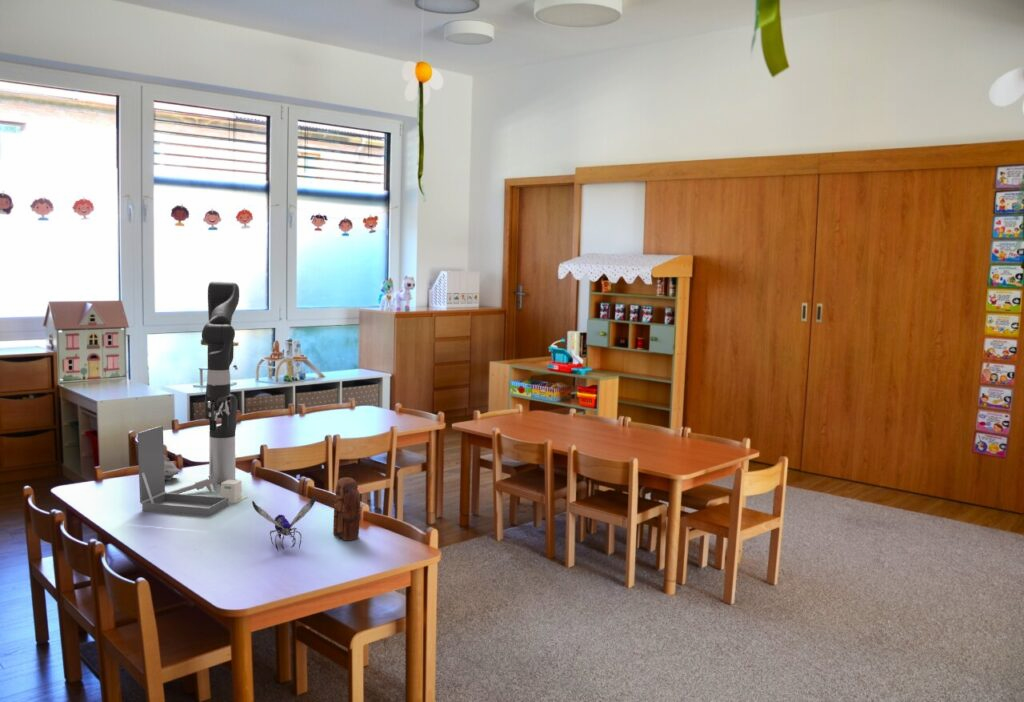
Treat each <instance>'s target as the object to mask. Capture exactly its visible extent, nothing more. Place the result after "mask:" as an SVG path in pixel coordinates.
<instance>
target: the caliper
mask: <svg viewBox="0 0 1024 702" xmlns="http://www.w3.org/2000/svg"><path fill="white" fill-rule="evenodd" d="M211 485H212V486H213V490H214V492H216V491H217V490H218V487H217V486H218V483H217V482H216V479H215V477H213V475H211V477H210V476H209V475H208V478H205V479H203V480H200V481H196V482H194V483H193V484H191V485H187V486H184V487H183V486H182V487H180V488H177V489H174V490H170V491H166V493H175V494H184V493H185V492H186V493H187V492H189V491H192V490H195V489H196V490H197V491H200V490H203V489H204V488H206V489H207V490H208V491H209V492H210V493H212V492H213V491H212V488H211V487H212V486H211Z"/></svg>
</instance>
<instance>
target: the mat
mask: <svg viewBox="0 0 1024 702" xmlns="http://www.w3.org/2000/svg"><path fill="white" fill-rule="evenodd" d="M247 498H248V496H242V495H241V498H239V499H238V500H236V501H228V504H238V503H240V502H241V501H243V500H245V499H247Z"/></svg>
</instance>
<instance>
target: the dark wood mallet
mask: <svg viewBox="0 0 1024 702" xmlns="http://www.w3.org/2000/svg"><path fill="white" fill-rule="evenodd" d="M358 488H359V487H358V483H357V482H356V480H355V479H353V478H352V477H347V476H346V477H341V478H339V479H338V480H337V482H336V486H335V500H334V507H333V531H332V532H333V533H332V534H333V536H334V537H337V538H338V539H340V540H341V539H342V540H344V541H352V540H353V541H354V540H357V539H358V538H359V534H360V520H361V513H360V512H361V494H360V491H359V490H358Z"/></svg>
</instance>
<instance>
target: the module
mask: <svg viewBox="0 0 1024 702" xmlns="http://www.w3.org/2000/svg"><path fill="white" fill-rule="evenodd" d="M241 496H242V480H238V479H237V480H236V479H235V480H226V481H224V482H222V483H220V497H224V498H228V501H236V500H238V499H239V498H241Z"/></svg>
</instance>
